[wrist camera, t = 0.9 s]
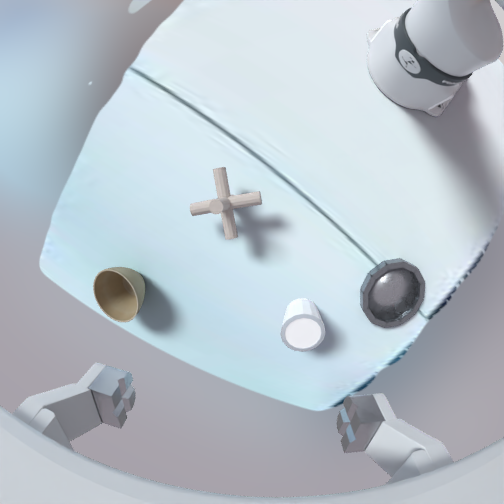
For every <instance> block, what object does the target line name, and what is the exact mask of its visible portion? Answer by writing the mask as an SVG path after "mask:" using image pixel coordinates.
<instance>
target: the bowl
mask: <svg viewBox="0 0 504 504" xmlns="http://www.w3.org/2000/svg"><path fill="white" fill-rule="evenodd" d="M424 292H425V281H424V279H423V277H422V275H421V273H420V271H419V269H418V268H417V267H416V266H414V265H413V264H411V263H409V262H407V261H405V260H403V259H400V258H399V259H392V260H386V261H384V262H381V263H380V264H379V265H377V266H376V267H375V268H373V269H372V270H371V271H370V273H368V274H367V276H366V278H365V280H364V282H363V284H362V286H361V289H360V305H361V308H362V309H363V311H364V313H365V314H366V316H367V317H368V319H369V320H370V322H372V323H373V324H376V325H379V326H382V327H386V328H387V327H392V326H397V325H401V324H403V323H404V322H405V321H407V320H408V319H409V318H411V317H412V316H413V315H415V314H416V312H417V310H418V308H419V307H420V305H421V303H422V301H423V300H424V299H423V298H424ZM414 313H415V314H414Z"/></svg>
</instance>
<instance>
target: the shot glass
mask: <svg viewBox="0 0 504 504" xmlns="http://www.w3.org/2000/svg"><path fill="white" fill-rule="evenodd" d="M324 336H325V327H324V323H323V321H322V318H321V316H320V314H319V311H318V309H317V307H316V305H315V304H314V302H312V301H310V300H309V299H304V298H300V299H295V300H294V301H292V302H291V303H290V304H289V305H288V306H287V308H286V312H285V317H284V321H283V325H282V329H281V338H282V341H283V343H284V344H285V345H286V346H287V347H288V348H290V349H292V350H294V351H301V352H303V351H309V350H312V349H314V348H316V347H317V346H319V345H320V343H321V342H322V341H323V339H324Z"/></svg>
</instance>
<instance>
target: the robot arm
mask: <svg viewBox="0 0 504 504" xmlns="http://www.w3.org/2000/svg"><path fill="white" fill-rule="evenodd" d="M495 1H496V2H497V3H498V4H499V5H500V6H501V7H502V8H503V10H504V0H495ZM366 37H367V41H368V45H369V50H368V54H367V65H368V69H369V72H370V75H371V77H372V79H373V81H374V82H375V84H376V85H377V86H378V88H379V89H380V90H381V91H382V92H383V93H384V94H385V95H386V96H387V97H388V98H390V99H391V100H392V101H394V102H396V103H397V104H399V105H401V106H404V107H407V108H410V109H417V110H423V111H425V112H427V113H428V114H430V115H432V116H435V117H438V116H439V115H441V114H442V112H443V111H444V110H445V108H446V107H447V105H448V104H449V103H450V101H451V100H452V98H453V97H454V95H455V94H456V92H457V91H458V89H459V88H460V87H461V85H462V84H463V82H464V81H465V80H466V79H468V78H469V77H470V76H471V75H472V73H473V72H474V71H476V70H478V69H480V68H482V67H484V66H486V65H488V64H490V63H492V62H495V61H496V60H497V59H498V58H499V57H500V55H501V53H502V50H503V36H502V31H501V27H500V24H499V22H498V19H497V17H496V15H495V13H494V11H493V9H492V6H491V3H490V0H417V1H416V2H415V4H414V5H413V7H412V8H410V9H408V10H406V11H405V12H404V13H403V14H402V15H401V16H400V17H395V18H394V19H393V20H392V21H391V20H387V21H386V22H385V23H384V25H383V26H382V27H381V28H377V29H372V30H369V31H368V32H367V34H366ZM438 105H439V107H438ZM132 381H133V378H132V374H131V373H130V372H127V371H124V370H120V369H117V368H114V367H111V366H107V365H104V364H101V363H98V362H97V363H94V365H93V366H92V367H91V368H90V369H89V370H88V371H87V372H86V374H85V375H84V376H83V377H82V378H81V379H80V381H79V382H78V383H77V384H74V383H72V384H69V385H66V386H63V387H60V388H57V389H54V390H50V391H47V392H44V393H40V394H37V395H33V396H30V397H27V399H26V400H25V401H24V402H23V403H22V404H21V405H20V406H19V407H18V408H17V409H16V410H15V412H13V414H11V413H10V412H8V411H7V410H6V409H4V408H3V407H2V406H0V504H504V437H503V438H501V439H499V440H498V441H496V442H494V443H492V444H491V445H489V446H487V447H485V448H483V449H481V450H479V451H477V452H475V453H473V454H471V455H469V456H467V457H465V458H463V459H460V460H458V461H456V462H453V460H452V458H451V456H450V455H449V453H448V451H447V450H446V448H445V446H444V444H443V443H442V442H440V441H438V440H437V439H435V438H433V437H431V436H430V435H428V434H426V433H424V432H422V431H421V430H419V429H417V428H416V427H414V426H412V425H410V424H409V423H407V422H405V421H404V420H402V419H397V417H396V415H395V413H394V412H393V410H392V408H391V406H390V404H389V402H388V400H387V399H386V397H385V395H384V394H383V393H378V394H371V395H355V396H347V397H346V398H345V400H344V403H343V404H344V407H345V408H343V409H342V410H341V411H340V413H339V415H338V418H337V429H338V433H340V434H341V435H342V436H343V437H342V439H341V443H342V447H343V450H344V453H350V452H360V451H364V452H365V453H366V454H367V455H368V456H369V457H370V458H371V459H373V461H374V462H375V463H377V464H378V465H379V466H380V467H381V468H382V469H383V470H384V471H386V472H387V473H388V474H389V475H390V476H391V477H392V478H391V479H390V480H389V481H388V482H387V483H386V484H385V485H383V486H379V487H374V488H369V489H364V490H358V491H352V492H346V493H338V494H330V495H320V496H307V497H249V496H236V495H226V494H217V493H211V492H203V491H198V490H192V489H187V488H182V487H177V486H173V485H169V484H164V483H160V482H157V481H153V480H149V479H146V478H142V477H139V476H136V475H133V474H130V473H127V472H124V471H121V470H118V469H116V468H113V467H110V466H108V465H105V464H102V463H100V462H98V461H95V460H93V459H91V458H88V457H86V456H84V455H82V454H80V453H77V452H75V451H74V449H73V448H72V446H71V444H70V441H72V440H74V439H75V438H77V437H79V436H81V435H83V434H84V433H86V432H88V431H90V430H91V429H93V428H95V427H97V426H99V425H100V424H102V423H105V424H108V425H111V426H114V427H118V428H122V426H123V424H124V422H125V421H126V419H127V415H126V412H128V411H130V410H131V409H132V408H133V405H134V402H135V389H134V388H133V387H132V385H131V383H132Z"/></svg>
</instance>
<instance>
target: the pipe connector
mask: <svg viewBox="0 0 504 504" xmlns="http://www.w3.org/2000/svg"><path fill="white" fill-rule="evenodd" d="M213 173H214V179H215V184H216V190H217V195H218V199H212V200H207V201H202V202H197V203H192V204H190V212H191V214H192V216H196V215H201V214H207V213H213V214H219V213H221V217H222V222H223V228H224V233H225V238H226V239H234V238H237V237H238V235H237V229H236V224H235V218H234V213H233V209H236V208H242V207H248V206H254V205H261V204H262V200H261V194H260V191H258V192H252V193H246V194H240V195H230V190H229V185H228V179H227V173H226V168H225V167H222V168H216V169H213Z"/></svg>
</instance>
